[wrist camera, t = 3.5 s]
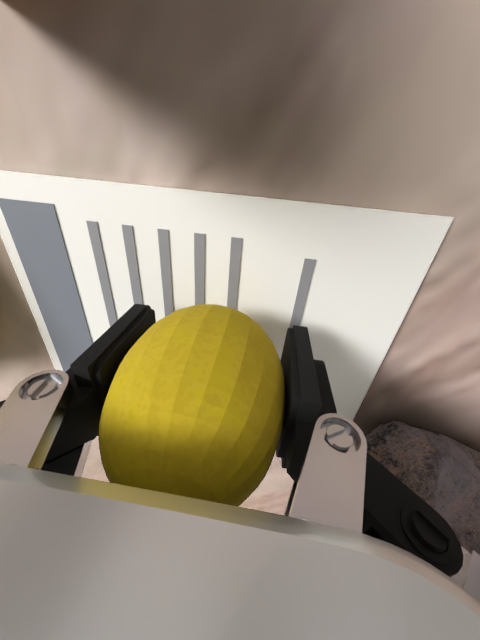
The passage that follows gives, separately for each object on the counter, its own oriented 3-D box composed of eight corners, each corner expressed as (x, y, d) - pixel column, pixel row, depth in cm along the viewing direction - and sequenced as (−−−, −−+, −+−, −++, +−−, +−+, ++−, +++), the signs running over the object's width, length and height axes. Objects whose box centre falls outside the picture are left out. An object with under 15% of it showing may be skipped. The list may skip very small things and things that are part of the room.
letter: (449, 216, 9) (455, 217, 9) (337, 447, 16) (338, 451, 16) (-22, 167, 10) (-29, 167, 10) (73, 405, 17) (70, 408, 17)
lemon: (288, 368, 13) (301, 597, 6) (187, 373, 14) (100, 572, 7) (275, 264, 10) (272, 465, 3) (151, 281, 11) (-48, 458, 4)
